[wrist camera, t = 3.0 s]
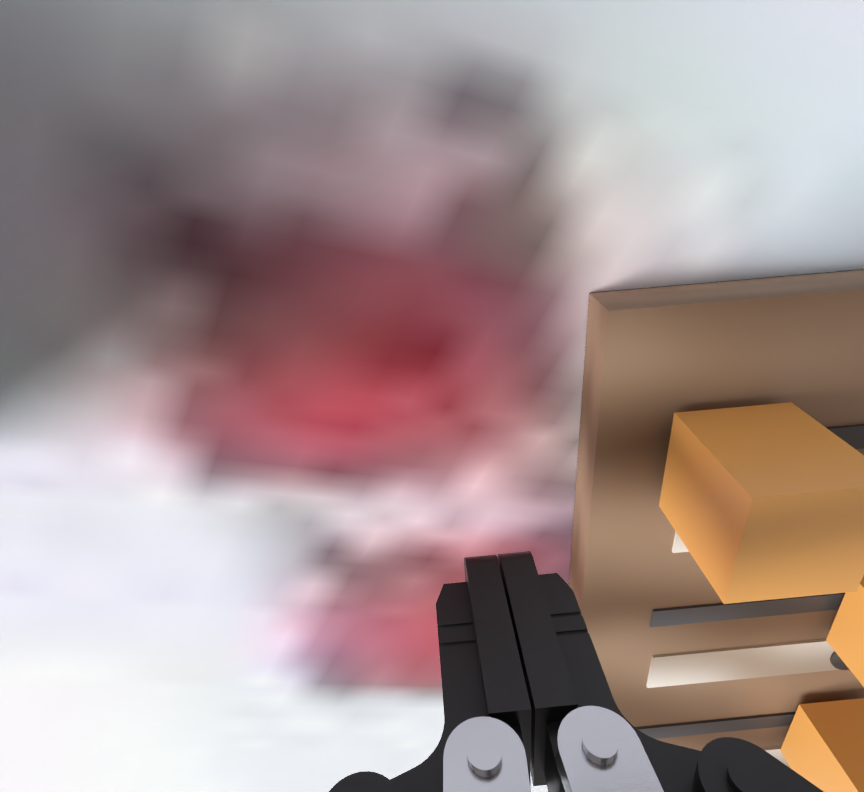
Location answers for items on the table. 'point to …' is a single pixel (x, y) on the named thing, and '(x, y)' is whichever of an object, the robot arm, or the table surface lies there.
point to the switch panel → (653, 533)
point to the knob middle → (850, 632)
